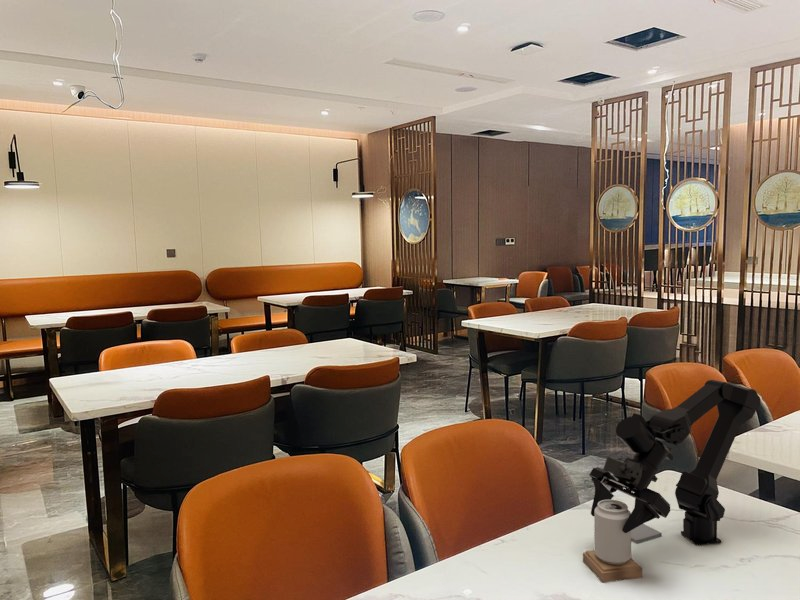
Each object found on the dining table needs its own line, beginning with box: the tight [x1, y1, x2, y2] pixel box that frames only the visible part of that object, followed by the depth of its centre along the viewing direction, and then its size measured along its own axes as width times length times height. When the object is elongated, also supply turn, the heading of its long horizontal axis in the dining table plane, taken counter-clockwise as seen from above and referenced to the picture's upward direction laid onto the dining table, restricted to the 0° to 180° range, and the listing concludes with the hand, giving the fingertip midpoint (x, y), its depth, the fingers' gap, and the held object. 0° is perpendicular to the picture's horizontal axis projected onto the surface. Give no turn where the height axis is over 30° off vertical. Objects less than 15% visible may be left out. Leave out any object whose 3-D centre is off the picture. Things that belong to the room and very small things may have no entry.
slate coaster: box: [631, 523, 663, 544], centre depth 150 cm, size 8×8×1 cm
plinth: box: [582, 549, 643, 583], centre depth 134 cm, size 9×9×2 cm
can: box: [593, 499, 632, 565], centre depth 133 cm, size 8×8×12 cm
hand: (607, 523), depth 132 cm, fingers open, 9 cm apart
